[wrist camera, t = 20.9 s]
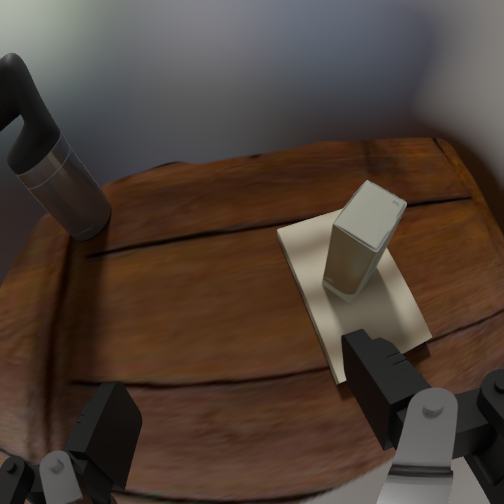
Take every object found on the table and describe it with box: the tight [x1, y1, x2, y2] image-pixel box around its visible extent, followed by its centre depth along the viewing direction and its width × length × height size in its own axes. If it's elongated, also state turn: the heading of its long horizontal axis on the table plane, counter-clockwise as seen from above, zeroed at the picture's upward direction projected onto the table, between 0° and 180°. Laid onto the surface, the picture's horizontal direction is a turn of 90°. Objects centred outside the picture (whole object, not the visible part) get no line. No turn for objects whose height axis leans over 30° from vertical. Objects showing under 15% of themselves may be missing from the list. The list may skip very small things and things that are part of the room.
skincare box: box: [322, 180, 407, 304], centre depth 27 cm, size 6×4×12 cm
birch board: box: [277, 209, 432, 385], centre depth 32 cm, size 20×12×2 cm, turn 17°
